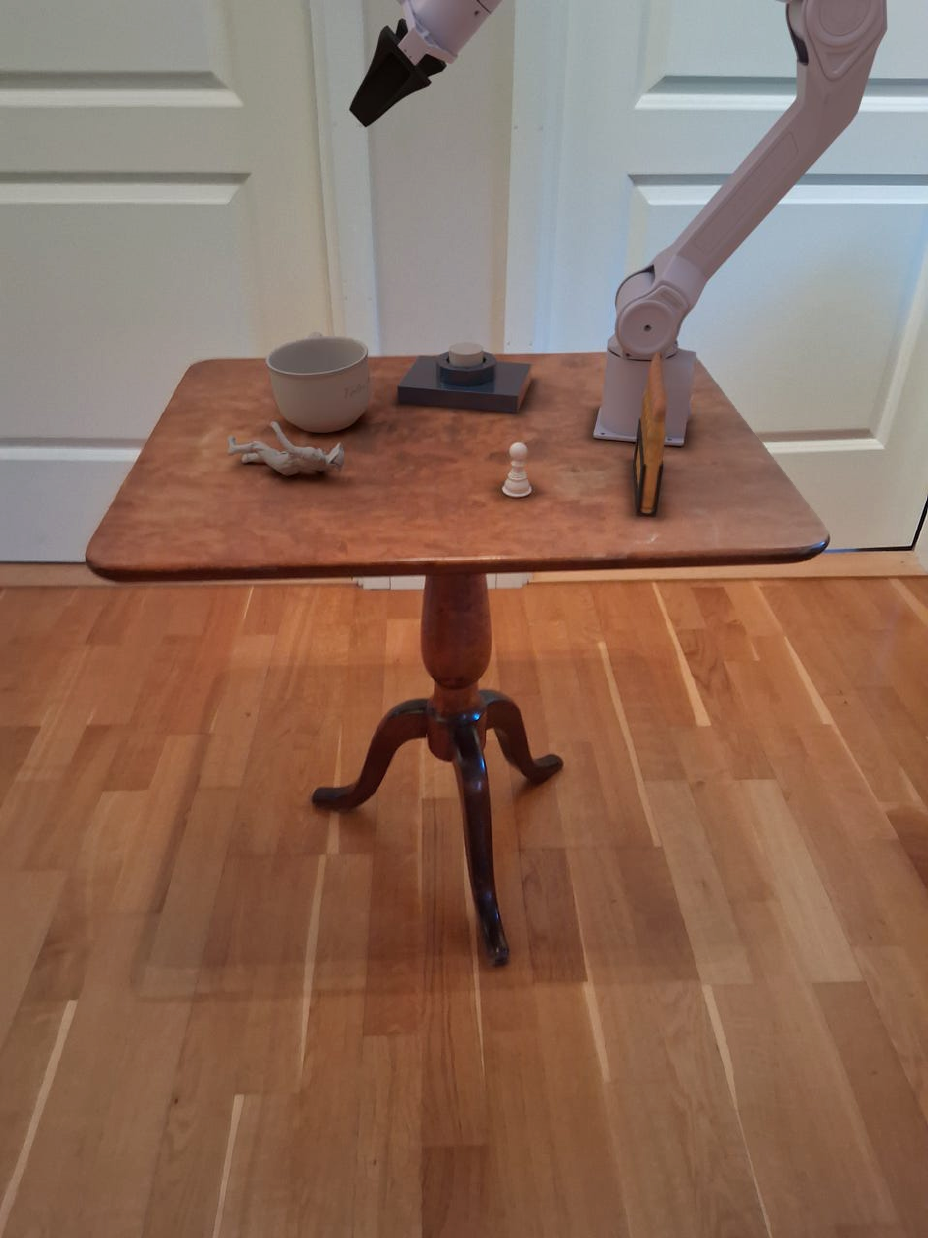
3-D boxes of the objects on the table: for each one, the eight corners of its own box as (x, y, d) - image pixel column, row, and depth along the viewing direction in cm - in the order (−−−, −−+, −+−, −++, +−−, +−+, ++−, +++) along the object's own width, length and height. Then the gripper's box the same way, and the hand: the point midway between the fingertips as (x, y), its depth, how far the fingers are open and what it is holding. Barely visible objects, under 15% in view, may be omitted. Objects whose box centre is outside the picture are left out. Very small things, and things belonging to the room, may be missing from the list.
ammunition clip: (656, 517, 82) (674, 392, 75) (636, 516, 82) (652, 391, 75) (651, 464, 91) (667, 348, 84) (633, 463, 91) (647, 347, 84)
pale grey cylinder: (486, 357, 105) (486, 343, 104) (479, 370, 102) (479, 355, 101) (453, 355, 106) (453, 340, 105) (445, 367, 103) (445, 352, 102)
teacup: (367, 443, 95) (362, 370, 90) (265, 442, 95) (255, 369, 91) (380, 392, 106) (375, 324, 102) (289, 391, 106) (280, 324, 102)
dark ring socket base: (531, 381, 109) (532, 348, 107) (517, 414, 101) (518, 379, 99) (419, 372, 111) (418, 340, 109) (398, 403, 103) (396, 370, 101)
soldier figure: (264, 456, 95) (363, 435, 90) (263, 500, 94) (362, 481, 89) (216, 428, 88) (320, 404, 83) (214, 475, 87) (319, 453, 82)
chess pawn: (499, 496, 86) (500, 448, 83) (505, 482, 88) (506, 435, 85) (528, 499, 85) (530, 451, 82) (533, 486, 87) (536, 438, 84)
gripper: (445, -59, 81) (349, 64, 87) (422, -55, 69) (314, 86, 76) (499, 8, 83) (402, 122, 90) (486, 23, 72) (376, 152, 79)
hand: (365, 110), depth 83 cm, fingers open, 7 cm apart
